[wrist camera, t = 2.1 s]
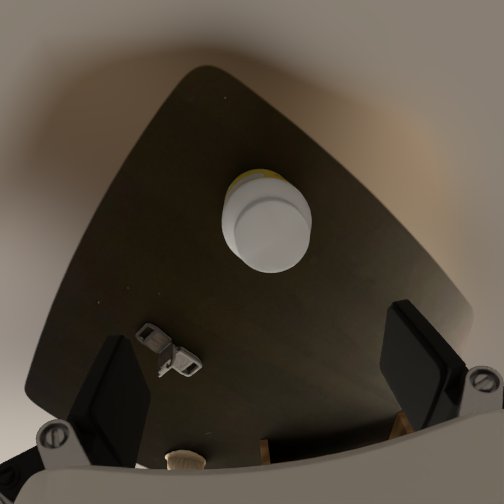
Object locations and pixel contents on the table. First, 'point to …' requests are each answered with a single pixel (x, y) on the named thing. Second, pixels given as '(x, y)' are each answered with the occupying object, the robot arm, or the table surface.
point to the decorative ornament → (185, 460)
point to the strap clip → (168, 352)
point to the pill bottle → (266, 221)
